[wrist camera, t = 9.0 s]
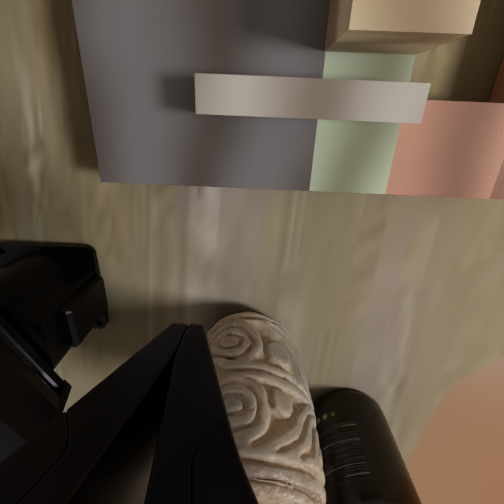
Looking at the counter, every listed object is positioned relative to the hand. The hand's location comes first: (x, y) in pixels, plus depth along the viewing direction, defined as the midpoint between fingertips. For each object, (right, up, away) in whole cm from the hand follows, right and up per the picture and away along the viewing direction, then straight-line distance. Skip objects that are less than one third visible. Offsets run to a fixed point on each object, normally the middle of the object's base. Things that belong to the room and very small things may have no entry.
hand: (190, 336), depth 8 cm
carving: (+2, -4, +15) cm, 16 cm away
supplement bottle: (+9, -12, +19) cm, 24 cm away
